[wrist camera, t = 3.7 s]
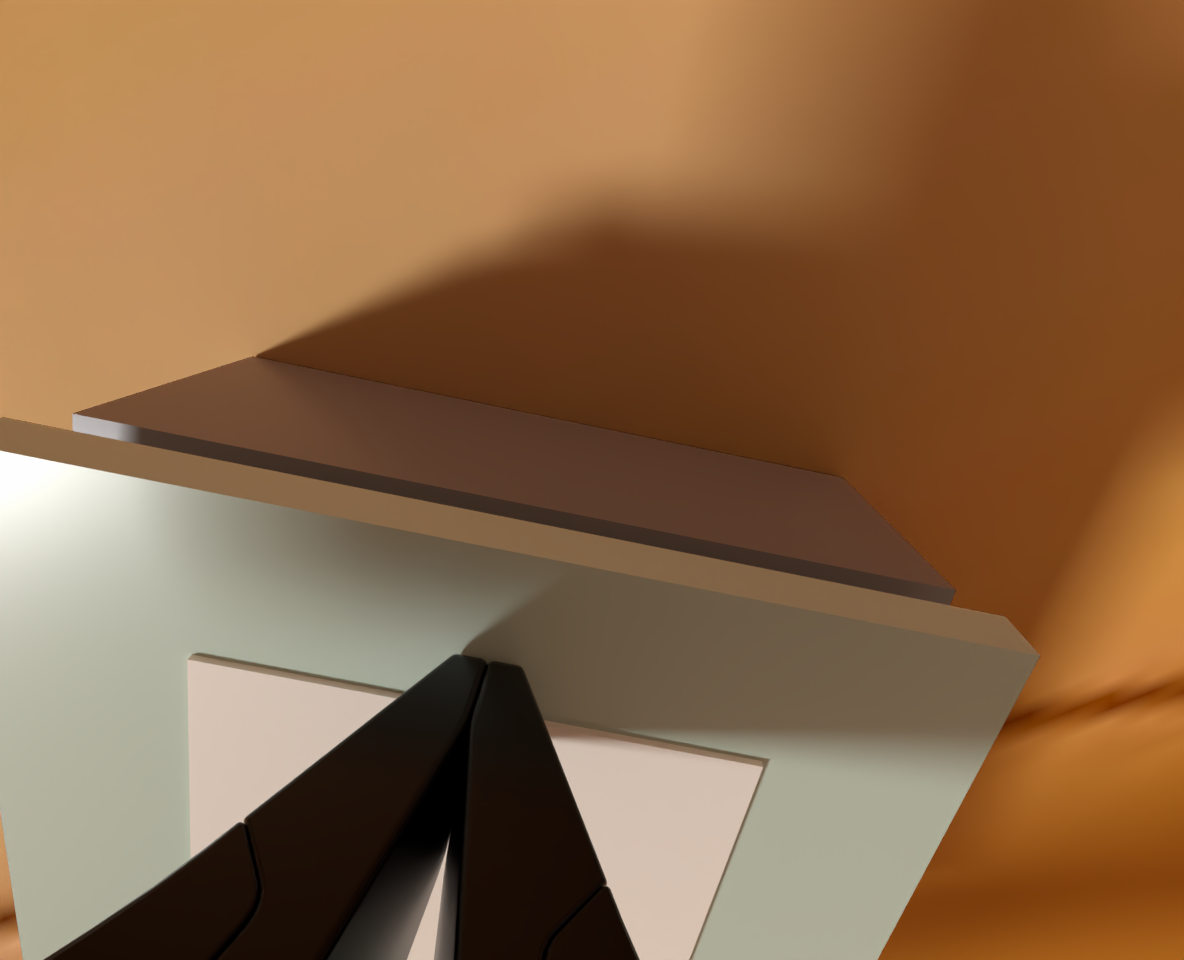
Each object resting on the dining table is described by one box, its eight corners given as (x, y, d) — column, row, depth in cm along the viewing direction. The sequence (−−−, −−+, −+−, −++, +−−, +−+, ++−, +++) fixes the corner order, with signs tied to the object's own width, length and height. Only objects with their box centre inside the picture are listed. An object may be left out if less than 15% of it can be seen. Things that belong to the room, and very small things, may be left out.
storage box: (697, 915, 18) (728, 1150, 14) (225, 832, 18) (87, 1046, 13) (842, 477, 15) (956, 589, 10) (252, 356, 14) (72, 413, 9)
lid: (734, 1157, 14) (741, 1221, 13) (77, 1051, 13) (40, 1111, 12) (1004, 616, 9) (1046, 661, 8) (3, 417, 8) (-65, 442, 8)
